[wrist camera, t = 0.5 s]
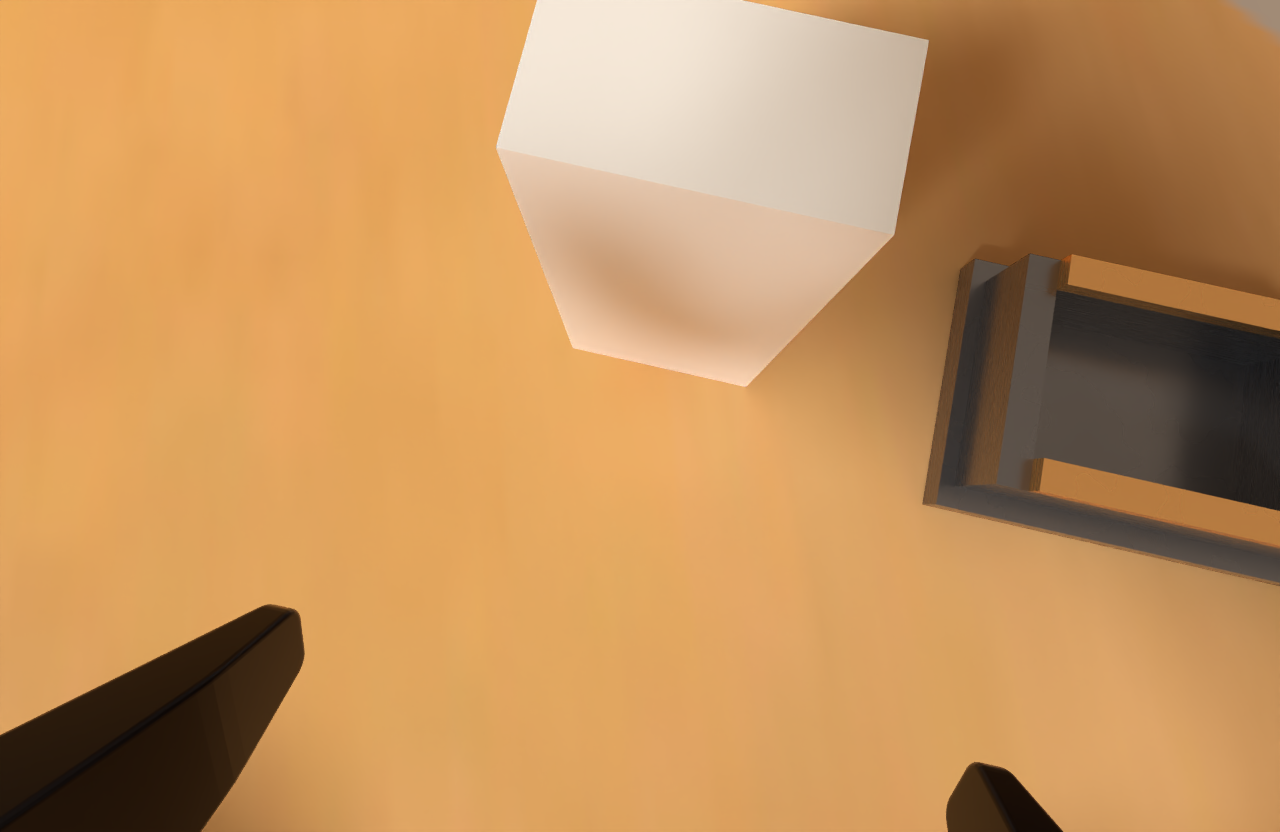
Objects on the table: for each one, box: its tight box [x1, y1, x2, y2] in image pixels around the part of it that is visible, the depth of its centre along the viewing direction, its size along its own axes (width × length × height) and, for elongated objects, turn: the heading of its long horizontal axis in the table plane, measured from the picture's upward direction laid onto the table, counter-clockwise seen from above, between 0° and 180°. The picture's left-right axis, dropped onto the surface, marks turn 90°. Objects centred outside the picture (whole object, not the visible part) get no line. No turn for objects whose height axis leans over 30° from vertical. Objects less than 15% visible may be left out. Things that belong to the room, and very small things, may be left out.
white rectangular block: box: [496, 0, 929, 387], centre depth 17 cm, size 4×6×13 cm, turn 77°
